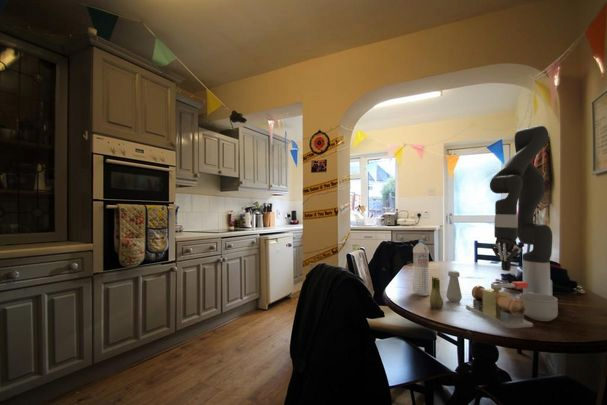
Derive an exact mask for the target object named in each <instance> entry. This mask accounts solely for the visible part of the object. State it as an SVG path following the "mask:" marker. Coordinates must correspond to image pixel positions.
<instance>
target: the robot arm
mask: <svg viewBox="0 0 607 405" xmlns="http://www.w3.org/2000/svg"><path fill="white" fill-rule="evenodd" d="M549 138H550V136H549V131H548V128H546V126H543V125H537V126H532V127H531V126H530V127H527V128H522V129H518V130H516V132H515V133H514V141H513V142H514V149H515V151H514V152H515V153H514V154H512V156H511V157H510V158H509V159H508V160H507V162H506V164H505V165H504V167H503V168H502V169H500V170H499V171H498V172H496V174H494V176H493V177H492V178H491V180H490V182H489V188H490V191H491V192H492V193H494V194H501V195H502V194H507V195H506V197H505V198H502V199H498V200H496V201H495V205H494V208H495V210H494V212H495V213H494V214H495V215H494V221H493V222H494V226H493V227H494V228H493V229H494V238H495V239H496V240H495V243H494V244H491V245H490V248H491V250H492V251H493V254H494V255H495V257H496V258H497V259H499V260H500V261H501V270H502V271H504V272H510V270H511V268H512V266H511V265H512V264H511V262H513V261H516V260H517V259H518V257H519V256H520V255H521V253H522V252H523V250H524V249H523V248H522V247H519V246H518V243H517V239H518V240H519V242H520V243H522V244H524V245H530V246H532V250H531V251H528V252H524V253H523V254H522V260H521V261H522V281H523V282H527V283H528V288H522V293H528V292H533V293H540V294H546V295H550V296H553V280H552V279H551V264H550V262H551V261H550V260H551V258H552V253H553V231H552V229H551V227H550V226H549V225H547V224H543V223H534V216H535V211H536V209H537V208H538V206H539V204H540V203H541V202H542V200H543V197H544V195H545V192H546V190H545V189H546V186H545V178H544V175H543V174H542V173H541V171H540V170H539V169H538V168H537V167H536V166H535V164H533V162H532V161H533V159H535V157H536V156H537V155H538V154H539V153H540V152H541V151H542V150H543V149H544V147H546V145H547V143H548V142H549Z"/></svg>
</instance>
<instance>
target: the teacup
mask: <svg viewBox="0 0 607 405" xmlns="http://www.w3.org/2000/svg"><path fill="white" fill-rule="evenodd" d="M519 299H520V300H522V301H523V302H524V303H525V312H524V313H523V315H525V316H526V317H528V318H529V319H531V320H534V321H539V322H550V321H552V320H554V319H556V318H557V317H558V314H559V310H558V308H559V307H558V306H559V305H558V301H559V300H558V298H557V297H556V296H553V295H552V296H550V295H546V294H540V293H533V292H528V293H523V292H522V293H519Z"/></svg>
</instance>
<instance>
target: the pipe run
mask: <svg viewBox="0 0 607 405" xmlns="http://www.w3.org/2000/svg"><path fill="white" fill-rule="evenodd" d="M471 296H472V298H473V300H472V304H465V308H466V309H467V310H469V311H471V312H473V311H474V313H475V314H478V315H480V316H482V317H485V318H487V319H488V320H490V321H493V322H495V323H497V324H499V325H501V326H504V327H506V328H507V329H519V328H520V329H522V328H534V323H533V322H531V321H528V320H526V319H524V312H525V303H524V302H523V301H522V300H520V298H516V297H515V298H511V296H512V294H511V292H508V291H505V290H495V289H491V288H485V287H484V286H481V285H476V286H474V287H473V288H472V289H471Z"/></svg>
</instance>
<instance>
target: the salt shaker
mask: <svg viewBox="0 0 607 405" xmlns="http://www.w3.org/2000/svg"><path fill="white" fill-rule="evenodd" d="M447 275H448V276H449V280H448V285H447V290H446V295H445V296H446V298H447V301H448V302H449V303H452V304H459V303H460V302H461V300H462V298H463V296H462V295H463V294H462V290H461V286H460V281H459V278H460V276H461V275H460V272H459V271H457V270H453V269H452V270H449V271H448V272H447Z"/></svg>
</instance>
